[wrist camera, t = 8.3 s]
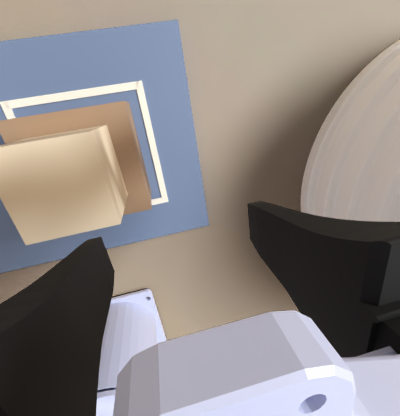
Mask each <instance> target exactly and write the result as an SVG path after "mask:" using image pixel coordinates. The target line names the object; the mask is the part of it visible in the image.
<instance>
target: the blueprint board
mask: <svg viewBox="0 0 400 416" xmlns="http://www.w3.org/2000/svg"><path fill="white" fill-rule="evenodd" d="M120 101H126V102H129V104H130V108H131V112H132V116H133V120H134V124H135V128H136V132H137V136H138V140H139V144H140V148H141V152H142V156H143V160H144V164H145V168H146V172H147V176H148V180H149V184H150V188H151V203H152V209H150V210H145V211H141V212H136V213H131V214H127V215H123V217H122V221H121V224H119V225H115V226H110V227H106V228H101V229H97V230H92V231H88V232H83V233H79V234H74V235H70V236H65V237H61V238H57V239H52V240H48V241H43V242H39V243H34V244H30V245H25V243H24V241H23V239H22V237H21V235H20V234H19V232H18V230H17V228H16V226H15V224H14V222H13V221H12V219H11V217H10V215H9V213H8V211H7V210H6V208H5V206H4V204H3V202H2V200H1V198H0V273H4V272H8V271H12V270H17V269H21V268H25V267H30V266H34V265H38V264H43V263H47V262H52V261H56V260H60V259H64V258H65V257H66V256H68V255H69V254H70V253H71V252H72V251H74V250H75V249H76V248H77V247H78V246H80V245H81V244H82V243H83V242H85V241H86V240H88V239H93V238H97V237H102V240H103V243H104V245H105V248H106V249H108V248H112V247H117V246H121V245H125V244H130V243H134V242H139V241H143V240H147V239H152V238H156V237H160V236H165V235H169V234H173V233H178V232H182V231H186V230H191V229H195V228H199V227H204V226H208V225H209V221H208V215H207V208H206V202H205V195H204V189H203V182H202V175H201V169H200V162H199V156H198V149H197V142H196V136H195V129H194V123H193V116H192V110H191V103H190V96H189V90H188V83H187V77H186V70H185V63H184V57H183V50H182V44H181V37H180V31H179V24H178V20H171V21H163V22H155V23H146V24H138V25H130V26H122V27H114V28H106V29H97V30H89V31H81V32H73V33H65V34H57V35H48V36H40V37H32V38H24V39H16V40H8V41H0V121H1V120H7V119H13V118H19V117H26V116H32V115H38V114H45V113H51V112H57V111H63V110H70V109H76V108H82V107H89V106H95V105H101V104H107V103H114V102H120ZM3 144H5V142H4V140H3V138H2V136H1V134H0V145H3Z"/></svg>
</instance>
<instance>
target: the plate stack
mask: <svg viewBox="0 0 400 416" xmlns="http://www.w3.org/2000/svg"><path fill="white" fill-rule="evenodd" d="M301 212H303V213H308V214H312V215H317V216H323V217H329V218H336V219H344V220H356V221H375V222H400V39H399V40H398V41H396V42H395V43H393V44H392V45H390V46H389V47H388V48H386V49H385V50H384V51H383V52H381V53H380V54H379V55H378V56H377V57H375V58H374V59H373V60H372V61H371V62H370V63H369V64H368V65H367V66H366V67H365V68H364V69H363V70H362V71H361V72H360V73H359V74H358V75H357V76H356V77H355V78H354V79H353V80H352V82H351V83H350V84H349V85H348V86H347V88H346V89H345V90H344V92H343V93H342V94H341V96H340V97H339V98H338V100H337V101H336V103H335V104H334V106H333V107H332V109H331V110H330V112H329V114H328V115H327V117H326V119H325V121H324V122H323V124H322V126H321V128H320V130H319V132H318V134H317V136H316V139H315V141H314V143H313V146H312V148H311V151H310V154H309V157H308V160H307V164H306V167H305V171H304V176H303V181H302V188H301Z"/></svg>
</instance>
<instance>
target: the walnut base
mask: <svg viewBox="0 0 400 416" xmlns="http://www.w3.org/2000/svg"><path fill="white" fill-rule="evenodd" d="M101 125H107V127H108V130H109V133H110V137H111V140H112V143H113V147H114V150H115V153H116V157H117V160H118V163H119V167H120V170H121V173H122V177H123V180H124V183H125V187H126V190H127V193H128V196H127V200H126V204H125V208H124V213H123V215H127V214H131V213H136V212H141V211H145V210H150V209H152V203H151V188H150V184H149V180H148V176H147V172H146V168H145V164H144V160H143V156H142V152H141V148H140V144H139V140H138V136H137V132H136V128H135V124H134V120H133V116H132V112H131V108H130V104H129V102H126V101H120V102H114V103H107V104H101V105H95V106H89V107H82V108H76V109H70V110H63V111H57V112H51V113H45V114H38V115H32V116H26V117H19V118H13V119H7V120H1V121H0V134H1V136H2V138H3V140H4V142H5V144H7V143H11V142H15V141H19V140H23V139H27V138H33V137H38V136H44V135H50V134H55V133H61V132H67V131H73V130H78V129H84V128H90V127H95V126H101Z"/></svg>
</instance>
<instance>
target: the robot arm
mask: <svg viewBox="0 0 400 416" xmlns="http://www.w3.org/2000/svg"><path fill="white" fill-rule="evenodd" d="M248 215H249V229H250V239H251V241H252V243H253V245H254V247H255V248H256V250H257V252H258V254H259V255H260V256H261V258H262V259H263V260H264V262H265V263H266V264H267V266H268V267H269V268H270V269H271V271H272V272H273V273H274V275H275V276H276V277H277V278H278V280H279V281H280V282H281V284H282V285H283V286H284V288H285V289H286V291H287V292H288V293H289V295H290V297H291V298H292V300H293V302H294V303H295V305H296V306H297V308H298V310H299V311H300V313H299V312H297V311H295V310H286V311H272V312H266V313H263V314H259V315H255V316H252V317H248V318H245V319H241V320H238V321H234V322H231V323H227V324H224V325H220V326H217V327H213V328H209V329H206V330H202V331H199V332H195V333H192V334H188V335H185V336H181V337H178V338H174V339H171V340H166V337H165V333H164V330H163V327H162V324H161V320H160V317H159V314H158V311H157V307H156V304H155V301H154V297H153V294H152V291H151V290H150V289H145V290H141V291H137V292H133V293H129V294H125V295H121V296H117V297H113V298H112V294H113V286H114V269H113V267H112V264H111V261H110V259H109V256H108V253H107V251H106V248H105V245H104V243H103V240H102V237H97V238H93V239H88V240H86V241H85V242H83V243H82V244H81V245H80V246H78V247H77V248H76V249H75V250H74V251H72V252H71V253H70V254H69V255H68V256H66V257H65V258H64V259H63V260H62V261H60V262H59V263H58V264H57V265H56V266H54V267H53V268H52V269H50V270H49V271H48V272H47V273H45V274H44V275H43V276H41V277H40V278H39V279H38V280H36V281H35V282H33V283H32V284H31V285H29V286H28V287H26V288H25V289H23V290H22V291H20V292H19V293H17V294H16V295H14V296H13V297H11V298H9V299H8V300H6V301H4V302H3V303H1V304H0V416H400V222H375V221H356V220H344V219H336V218H329V217H323V216H317V215H312V214H308V213H303V212H299V211H295V210H291V209H288V208H284V207H281V206H277V205H274V204H270V203H266V202H260V201H259V202H254V203H250V204H248ZM146 297H150V298H146Z"/></svg>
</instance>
